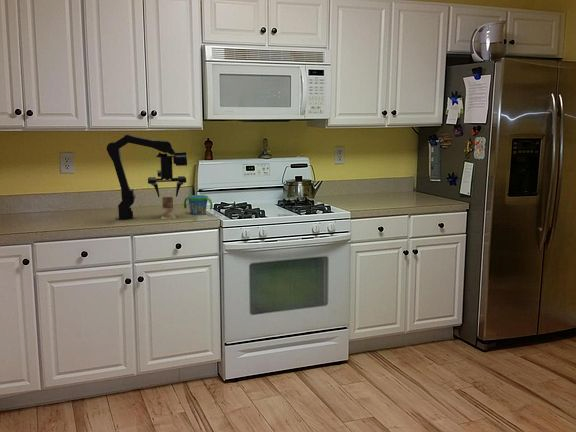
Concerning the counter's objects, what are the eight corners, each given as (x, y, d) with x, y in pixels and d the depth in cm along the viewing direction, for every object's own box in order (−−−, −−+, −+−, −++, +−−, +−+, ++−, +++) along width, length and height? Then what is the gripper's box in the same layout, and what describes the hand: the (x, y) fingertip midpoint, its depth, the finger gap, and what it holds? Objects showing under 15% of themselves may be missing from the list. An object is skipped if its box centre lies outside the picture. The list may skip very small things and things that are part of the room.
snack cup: (216, 214, 322) (215, 195, 320) (206, 218, 313) (205, 198, 311) (190, 212, 328) (190, 194, 326) (180, 216, 319) (179, 196, 317)
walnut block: (163, 208, 305) (162, 198, 304) (162, 206, 310) (162, 197, 309) (173, 208, 306) (172, 198, 305) (172, 206, 311) (172, 196, 310)
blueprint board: (150, 221, 302) (150, 219, 302) (149, 215, 321) (149, 213, 321) (183, 220, 306) (183, 218, 306) (179, 213, 325) (179, 211, 325)
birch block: (163, 218, 306) (163, 208, 305) (162, 216, 310) (162, 206, 309) (173, 217, 307) (173, 208, 306) (172, 216, 312) (172, 206, 311)
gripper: (183, 164, 314) (184, 194, 317) (146, 165, 310) (148, 195, 312) (185, 166, 304) (187, 197, 306) (147, 167, 299) (148, 198, 302)
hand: (167, 197), depth 307 cm, fingers open, 8 cm apart
